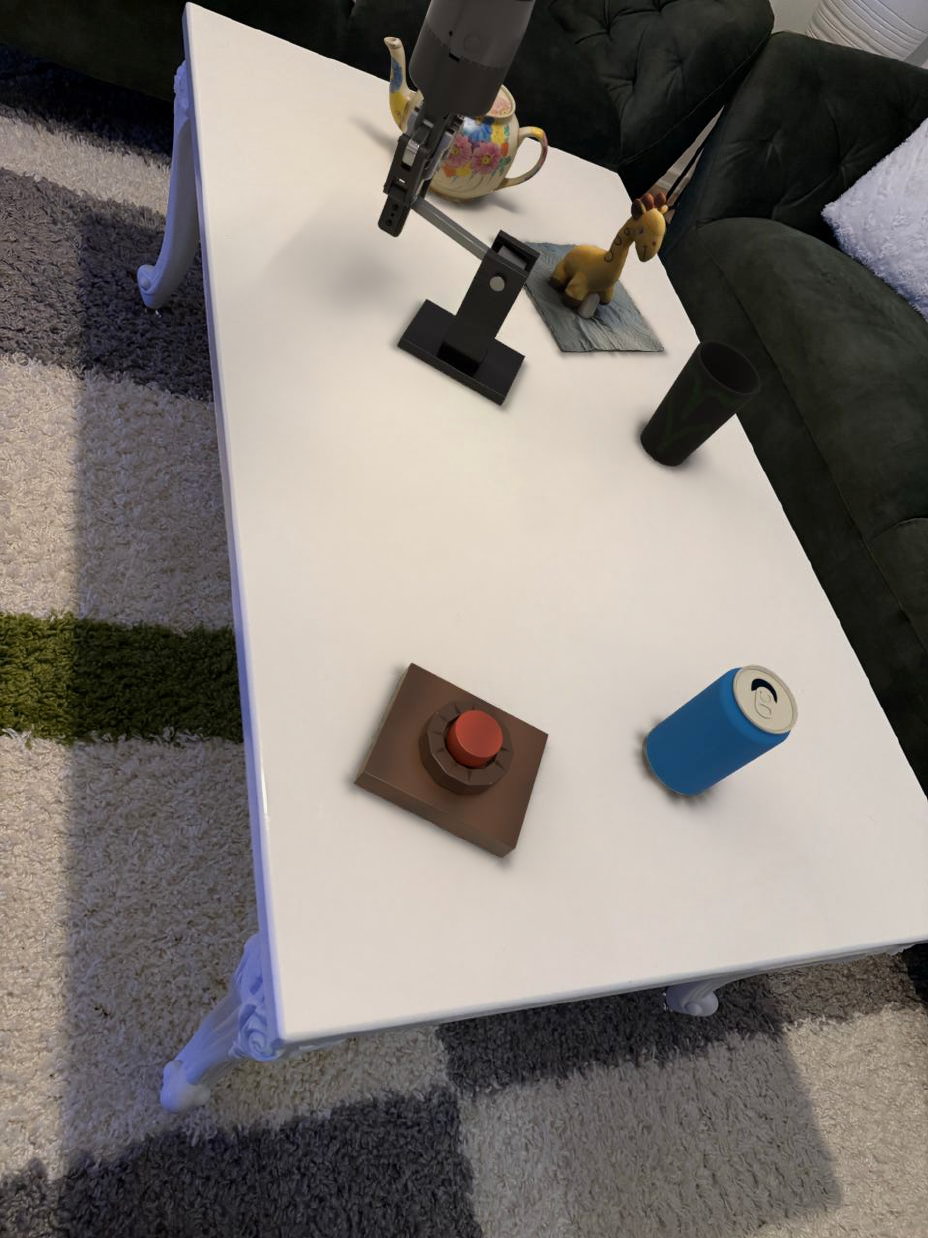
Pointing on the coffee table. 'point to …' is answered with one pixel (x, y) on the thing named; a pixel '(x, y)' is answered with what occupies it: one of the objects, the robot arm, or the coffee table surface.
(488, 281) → the bracket
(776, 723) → the beverage can
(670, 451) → the cup
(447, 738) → the button
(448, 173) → the teapot
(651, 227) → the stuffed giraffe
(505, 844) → the button block
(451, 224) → the lever
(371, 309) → the coffee table surface
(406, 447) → the coffee table surface
